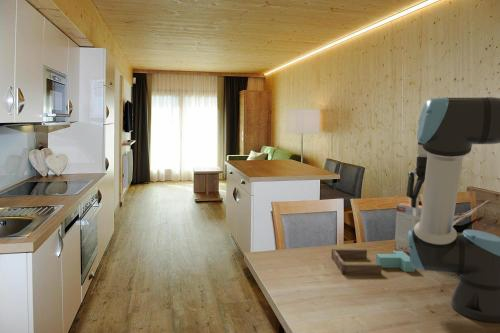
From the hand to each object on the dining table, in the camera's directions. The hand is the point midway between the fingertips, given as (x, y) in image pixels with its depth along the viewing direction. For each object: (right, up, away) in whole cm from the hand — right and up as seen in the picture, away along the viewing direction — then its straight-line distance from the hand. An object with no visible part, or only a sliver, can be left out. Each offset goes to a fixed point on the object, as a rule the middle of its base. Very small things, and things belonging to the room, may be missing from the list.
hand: (423, 215), depth 149 cm
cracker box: (+3, -18, +16) cm, 25 cm away
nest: (-26, -20, +2) cm, 33 cm away
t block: (-11, -20, +2) cm, 23 cm away
